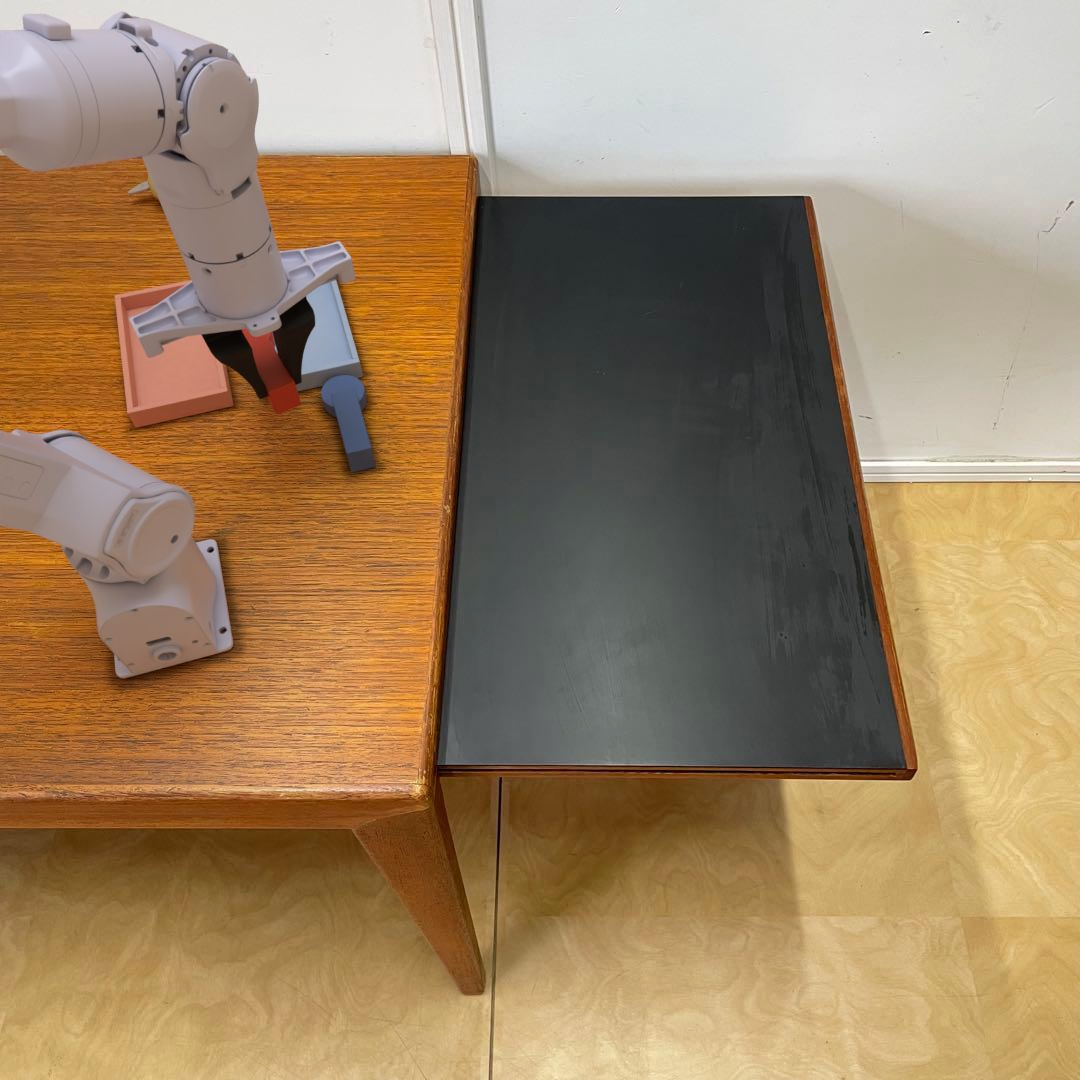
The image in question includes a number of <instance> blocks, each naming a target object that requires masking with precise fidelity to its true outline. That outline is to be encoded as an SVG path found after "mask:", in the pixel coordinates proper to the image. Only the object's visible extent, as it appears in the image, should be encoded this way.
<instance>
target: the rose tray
mask: <svg viewBox="0 0 1080 1080" xmlns="http://www.w3.org/2000/svg"><path fill="white" fill-rule="evenodd" d="M190 281H192V280H191V279H188V280H183V281H179V282H174V283H173V282H172V283H168V284H163V285H157V286H153V287H149V288H143V289H139V290H138V289H137V290H133V291H128V292H123V293H118V294H114V304H115V312H116V322H117V331H118V340H119V350H120V358H121V368H122V376H123V387H124V396H125V405H126V413H127V416H128V417H129V419H130V421H131V422H132V425H133V426H134V428H136V429H137V428H141V427H146V426H150V425H155V424H160V423H164V422H167V421H168V422H169V421H174V420H177V419H181V418H186V417H191V416H195V415H199V414H204V413H208V412H212V411H217V410H221V409H226V408H230V407H234V405H235V404H234V399H233V395H232V390H231V389H232V388H231V384H230V379H229V378H230V377H229V372H228V369H227V367H228V366H227V365H225V364H222V363H220V362H219V361H218V360H217V359H216V358H215V357H214V356H213V355H212V353H211V352H210V350H209V348H208V346H207V344H206V342H205V341H204V339H203V337H202V335H193V336H187V337H184V338H181V339H179V340H176V341H173V342H171V343H168V344H166V345H163V346H162V347H163V349H164V352H163V353H162V354H159V355H157V356H154V357H152V358H148V357H147V355H146V353H145V351H144V349H143V347H142V345H141V343H140V341H139V339H138V337H137V335H136V333H135V331H134V329H133V327H132V325H131V323H130V321H129V318H130V317H133V316H135V315H138V314H140V313H142V312H144V311H146V310H148V309H150V308H152V307H153V306H155V305H156V304H158V303H159V302H161V301H162V300H164V299H165V298H167V297H168V296H170V295H171V294H173V293H174V292H176V291H177V290H178V289H180V288H181V287H183V286H184V285H186V284H187V283H189V282H190Z"/></svg>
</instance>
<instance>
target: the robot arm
mask: <svg viewBox="0 0 1080 1080" xmlns="http://www.w3.org/2000/svg"><path fill="white" fill-rule="evenodd" d="M22 24H23V25H22V28H23V29H0V152H2V154H4V155H5V156H6V157H7V158H8V159H10V160H11V161H12V162H14V163H15V164H16V165H18V166H20V167H22V168H24V169H26V170H28V171H32V172H37V173H45V172H52V171H58V170H64V169H71V168H77V167H83V166H85V167H86V166H90V165H99V164H104V163H112V162H118V161H124V160H131V159H138V158H142V161H143V164H144V166H145V169H146V171H147V175H148V174H149V176H150V179H151V181H152V184H153V186H154V188H155V191H156V193H157V196H158V198H159V200H158V201H159V203H160V206H161V208H162V210H163V213H164V216H165V218H166V220H167V223H168V226H169V228H170V230H171V233H172V236H173V238H174V240H175V243H176V246H177V248H178V250H179V253H180V255H181V258H182V261H183V263H184V265H185V268H186V270H187V273H188V275H189V278H190V280H192V281H190V282H189V283H187V284H186V285H184V286H183V287H181V288H180V289H178V290H177V291H176V292H174V293H173V294H171V295H170V296H168V297H167V298H165V299H164V300H162V301H161V302H159V303H158V304H156V305H155V306H153V307H152V308H150V309H148V310H146V311H144V312H142V313H140V314H138V315H135V316H133V317H130V318H129V321H130V323H131V325H132V327H133V329H134V331H135V333H136V335H137V337H138V339H139V341H140V343H141V345H142V347H143V349H144V351H145V353H146V355H147V357H148V358H152V357H154V356H157V355H159V354H162V353H163V352H164V349H163V347H162V346H163V345H166V344H168V343H171V342H173V341H176V340H179V339H181V338H184V337H187V336H193V335H202V337H203V339H204V341H205V342H206V344H207V346H208V348H209V350H210V352H211V353H212V355H213V356H214V357H215V358H216V359H217V360H218V361H219V362H220V363H222V364H225V365H226V367H228V368H230V369H232V370H233V371H234V372H236V373H237V374H238V375H239V376H241V378H243V379H244V380H245V381H246V382H247V383H248V384H249V385H250V387H251V388H252V389H253V391H254V393H255V394H256V396H257V398H258V399H259V400H263V399H265V398H267V397H268V393H267V390H266V387H265V385H264V383H263V381H262V379H261V377H260V375H259V372H258V370H257V366H256V363H255V360H254V356H253V351H252V348H251V346H250V344H249V342H248V341H247V339H246V337H245V336H244V334H243V332H242V329H247V330H248V331H249V333H250V334H251V335H252V336H255V337H258V336H262V335H265V334H267V333H270V332H273V336H274V340H275V344H276V348H277V352H278V355H279V357H280V359H281V360H282V362H283V364H284V366H285V367H286V369H287V371H288V372H289V374H290V376H291V377H292V378H293V380H294V382H295V385H297V384H300V383H301V382H302V376H301V372H302V360H303V354H304V349H305V346H306V343H307V340H308V338H309V335H310V333H311V331H312V330H313V328H314V327H315V314H314V311H313V308H312V307H311V305H310V304H309V302H308V301H307V298H306V296H307V295H308V294H309V293H311V292H312V291H313V290H315V289H316V288H318V287H319V286H321V285H324V284H326V283H329V282H332V281H334V280H336V281H337V280H338V282H339V283H340V284H342V285H344V284H347V283H351V282H353V281H356V278H357V277H356V273H355V268H354V263H353V258H352V256H351V255H350V254H349V252H348V250H347V249H346V248H345V246H344V245H343V243H342V242H341V241H340V240H338V241H335V242H332V243H329V244H325V245H320V246H314V247H307V248H297V249H289V250H288V249H287V250H281V251H280V249H279V245H278V242H277V239H276V235H275V232H274V228H273V224H272V221H271V217H270V214H269V211H268V210H269V209H268V207H267V204H266V200H265V197H264V194H263V190H262V186H261V182H260V179H259V176H258V172H257V169H258V167H259V165H258V158H259V157H260V153H259V150H258V146H257V142H256V134H255V133H256V126H257V122H258V121H257V120H258V117H259V116H258V115H259V106H260V93H259V86H258V85H259V84H258V81H257V78H255V77H252V78H251V76H250V75H248V74H247V72H246V71H245V70H244V69H243V66H242V64H241V63H240V61H239V60H238V58H237V57H236V56H235V54H234V53H232V52H229V49H228V48H227V47H225V46H223V45H221V44H217V43H214V42H212V41H209V40H206V39H204V38H201V37H199V36H196V35H194V34H191V33H187V32H185V31H183V30H180V29H177V28H174V27H171V26H169V25H166V24H163V23H161V22H158V21H155V20H153V19H150V18H145V17H139V16H136V15H130V14H129V13H128V12H126V11H123V10H122V11H120V12H119V11H118V12H117V13H114V14H113V15H111V16H109V18H106V20H105V21H104V22H103V23H102V24H101V25H100V27H99V28H92V29H90V28H87V29H85V28H82V29H80V28H79V29H77V28H76V29H72V27H71V24H70V23H69V22H68V21H65V20H63V19H60V18H57V17H55V16H52V15H50V14H47V13H24V14H23V15H22ZM195 519H196V509H195V501H194V499H193V496H192V495H191V494H190V493H189V491H188V490H187V489H185V488H184V487H181V486H179V485H177V484H173V483H168V482H166V481H164V480H163V479H161V478H158V477H156V476H154V475H152V474H151V473H149V472H147V471H145V470H143V469H142V468H140V467H137V466H135V465H134V464H132V463H130V462H129V461H127V460H125V459H122V458H120V457H119V456H117V455H115V454H113V453H111V452H109V451H108V450H106V449H104V448H102V447H100V446H99V445H96V444H94V443H93V442H91V441H90V440H89V439H87V438H86V437H85V436H84V435H82V434H81V433H79V432H76V431H74V430H69V429H57V430H52V431H48V432H44V433H32V432H28V431H25V430H22V429H18V428H17V429H16V428H15V429H13V430H12V431H11V432H7V431H4V430H1V429H0V527H2V528H6V529H7V528H9V529H14V530H18V531H24V532H28V533H32V534H34V535H36V536H39V537H42V538H44V539H45V540H49V541H50V542H53V543H56V544H58V545H60V547H61V550H62V553H63V554H64V556H65V558H66V559H67V561H68V563H69V565H70V566H71V567H72V568H73V569H74V570H75V571H76V572H77V574H78V575H79V577H80V578H81V579H82V580H83V582H84V583H85V585H86V587H87V589H88V590H89V593H90V595H91V597H92V601H93V604H94V609H95V610H94V611H95V616H96V617H95V618H96V627H97V633H98V636H99V638H100V640H101V641H102V642H103V643H104V645H106V647H107V648H108V649H109V650H110V651H111V652H112V653H113V658H114V659H113V660H114V669H115V675H116V676H117V677H118V678H119V679H128V678H131V677H135V676H138V675H143V674H147V673H151V672H154V671H158V670H161V669H164V668H170V667H172V666H176V665H179V664H183V663H186V662H191V661H194V660H198V659H202V658H205V657H210V656H213V655H216V654H220V653H224V652H228V651H231V649H233V646H234V639H233V631H232V627H231V620H230V613H229V608H228V601H227V600H228V599H227V594H226V589H225V588H226V587H225V581H224V576H223V570H222V569H223V568H222V563H221V557H220V551H219V544H218V543H217V541H216V540H215V539H213V538H209V539H204V540H201V541H196V540H195V538H194V537H193V531H194V527H195ZM212 550H213V551H212ZM210 551H211V552H210ZM224 630H226V631H225V632H223V633H222V631H224Z"/></svg>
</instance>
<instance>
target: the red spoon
mask: <svg viewBox="0 0 1080 1080" xmlns="http://www.w3.org/2000/svg"><path fill="white" fill-rule="evenodd" d="M242 332H243V334H244V336H245V337H246V339H247V341H248V342H249V344H250V346H251V348H252V351H253V356H254V360H255V363H256V366H257V370H258V372H259V375H260V377H261V379H262V381H263V383H264V385H265V387H266V390H267V393H268V397H266V399H267V401H268V402H269V404H270V407H271V408H272V410H273V411H274V413H275V415H281V414H283V413H285V412H288V411H290V410H294V409H295V408H297V407H300V406H302V401H301V398H300V395H299V391H297V388H296V385H295V382H294V380H293V378H292V377H291V376H290V374H289V372H288V371H287V369H286V367H285V366H284V364H283V362H282V360H281V359H280V357H279V355H278V353H277V351H276V350H275V340H274V336H273V332H270V333H267V334H265V335H262V336H258V337H255V336H252V335H251V334H250V333H249V331H248V330H247V329H242Z"/></svg>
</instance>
